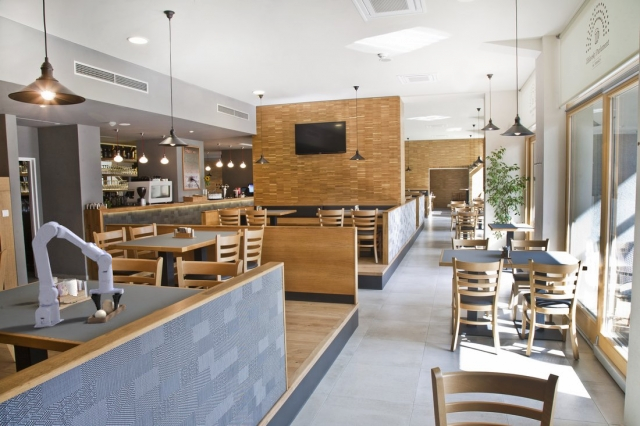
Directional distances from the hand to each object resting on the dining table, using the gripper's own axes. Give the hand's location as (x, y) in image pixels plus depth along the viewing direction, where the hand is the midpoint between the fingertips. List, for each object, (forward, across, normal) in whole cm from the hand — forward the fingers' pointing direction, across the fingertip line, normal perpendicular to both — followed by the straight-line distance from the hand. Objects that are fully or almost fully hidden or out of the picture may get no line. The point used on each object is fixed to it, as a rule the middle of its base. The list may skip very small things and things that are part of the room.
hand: (107, 309), depth 200 cm
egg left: (+3, 0, +7) cm, 7 cm away
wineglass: (+3, +43, -32) cm, 54 cm away
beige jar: (+2, 0, 0) cm, 2 cm away
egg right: (+3, 0, -7) cm, 7 cm away
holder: (+3, 0, 0) cm, 3 cm away
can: (+3, +31, -28) cm, 42 cm away
